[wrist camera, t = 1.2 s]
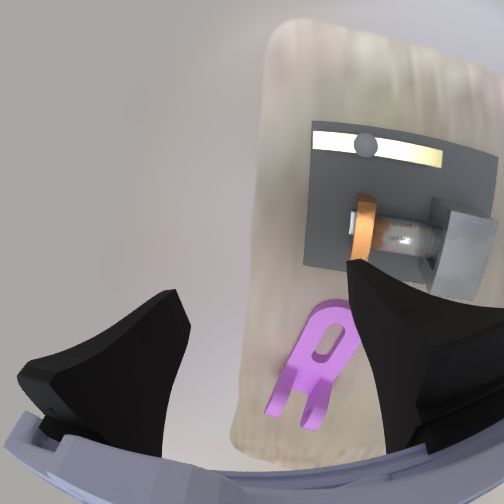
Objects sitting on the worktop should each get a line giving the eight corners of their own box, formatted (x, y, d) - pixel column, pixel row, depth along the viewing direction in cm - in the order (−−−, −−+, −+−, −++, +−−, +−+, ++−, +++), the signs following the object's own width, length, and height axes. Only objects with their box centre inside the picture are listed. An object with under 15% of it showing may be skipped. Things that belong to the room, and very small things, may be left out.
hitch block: (489, 209, 16) (516, 227, 11) (472, 273, 18) (492, 303, 14) (354, 182, 20) (355, 193, 15) (345, 253, 22) (342, 281, 18)
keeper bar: (436, 149, 15) (442, 150, 14) (434, 165, 16) (441, 168, 14) (316, 131, 18) (313, 130, 16) (315, 147, 18) (312, 148, 17)
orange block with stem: (440, 207, 17) (452, 218, 14) (427, 266, 18) (435, 283, 16) (357, 193, 19) (358, 201, 16) (349, 253, 21) (348, 269, 18)
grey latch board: (496, 156, 14) (518, 161, 11) (467, 288, 19) (480, 311, 16) (312, 121, 19) (304, 116, 16) (303, 263, 24) (294, 283, 21)
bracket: (321, 389, 29) (309, 436, 23) (279, 374, 30) (260, 418, 24) (375, 311, 23) (375, 363, 17) (321, 290, 24) (308, 338, 18)
